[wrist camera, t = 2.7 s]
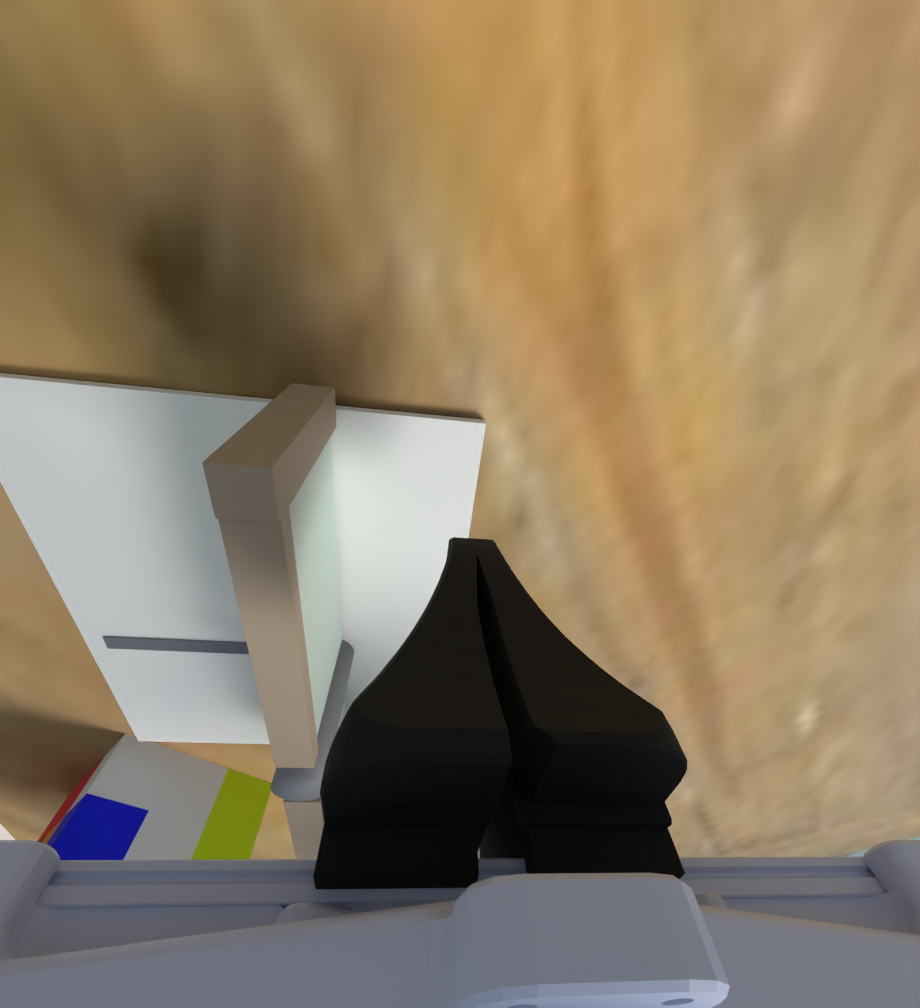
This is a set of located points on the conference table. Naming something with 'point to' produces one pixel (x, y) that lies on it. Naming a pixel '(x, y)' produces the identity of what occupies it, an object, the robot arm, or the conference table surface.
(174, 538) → the card
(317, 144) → the conference table surface
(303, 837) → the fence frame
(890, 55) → the conference table surface
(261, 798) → the puzzle toy
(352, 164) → the conference table surface
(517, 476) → the conference table surface
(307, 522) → the framed panel
